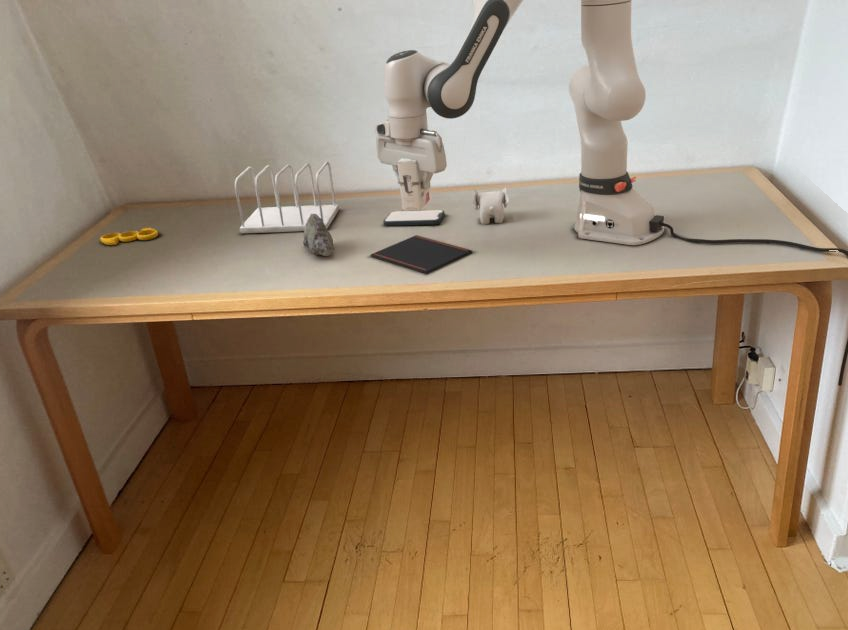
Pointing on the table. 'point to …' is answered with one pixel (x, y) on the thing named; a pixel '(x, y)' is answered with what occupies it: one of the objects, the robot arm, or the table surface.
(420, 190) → the ink box
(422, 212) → the smartphone
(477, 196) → the elephant figurine
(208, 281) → the table surface
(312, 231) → the mineral rock
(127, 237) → the yellow linked rings
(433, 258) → the mat
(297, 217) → the file sorter
